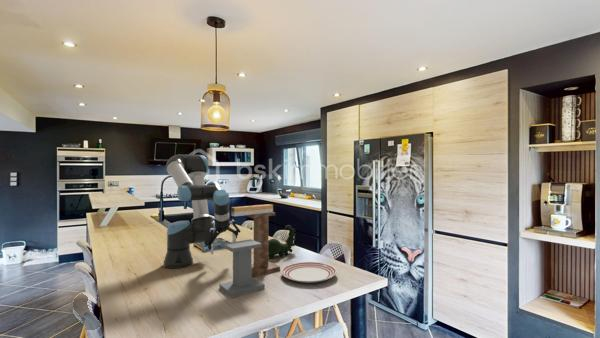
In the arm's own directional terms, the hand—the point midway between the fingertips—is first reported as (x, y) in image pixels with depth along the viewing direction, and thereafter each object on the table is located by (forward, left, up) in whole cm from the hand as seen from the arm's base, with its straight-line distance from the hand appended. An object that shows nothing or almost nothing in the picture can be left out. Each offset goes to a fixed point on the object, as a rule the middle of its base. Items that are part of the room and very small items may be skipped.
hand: (223, 247), depth 170 cm
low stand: (+28, -25, -9) cm, 39 cm away
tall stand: (+24, 0, -9) cm, 26 cm away
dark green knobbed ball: (+21, +28, -10) cm, 36 cm away
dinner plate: (+50, +2, -10) cm, 51 cm away
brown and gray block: (+21, -4, +21) cm, 30 cm away
